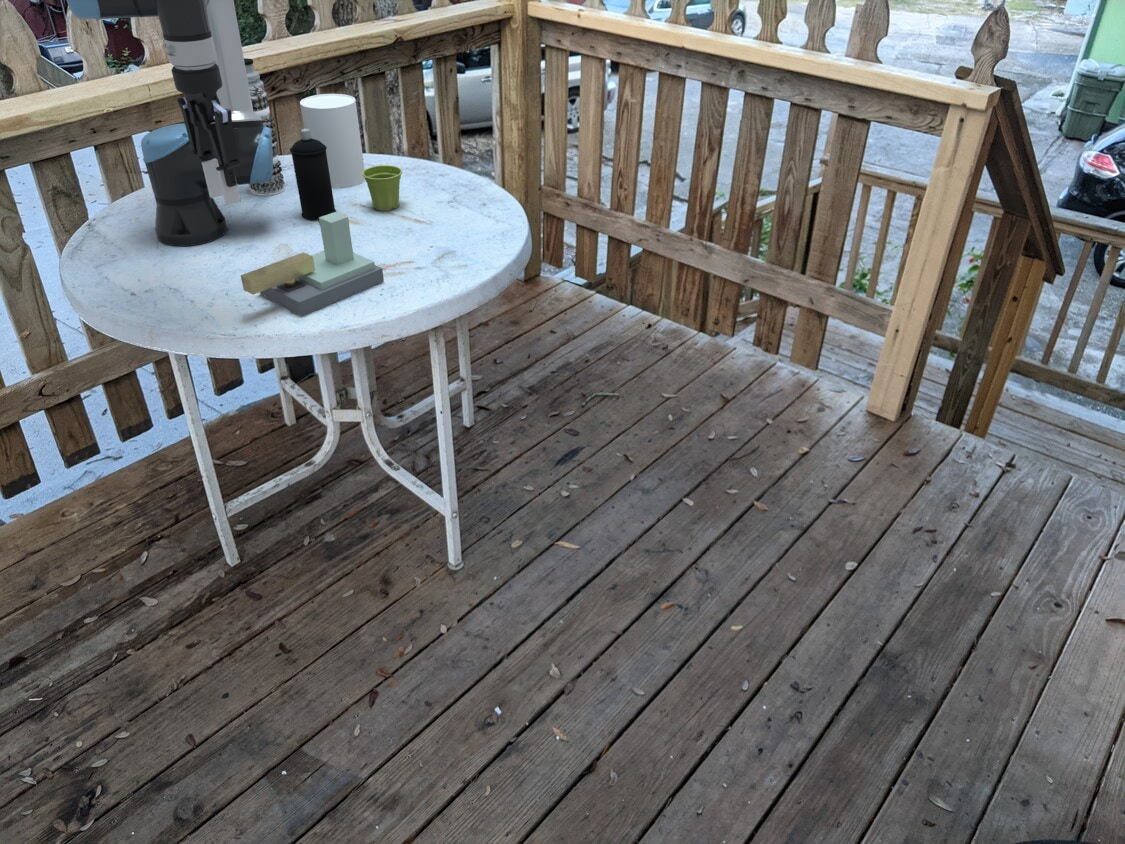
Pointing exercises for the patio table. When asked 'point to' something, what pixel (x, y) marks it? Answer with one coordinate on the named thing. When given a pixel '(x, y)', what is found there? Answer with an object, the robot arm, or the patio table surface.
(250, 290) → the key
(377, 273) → the plate
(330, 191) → the aerosol can
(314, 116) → the canister
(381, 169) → the plant pot
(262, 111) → the decorative candle
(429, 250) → the patio table surface
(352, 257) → the cover
